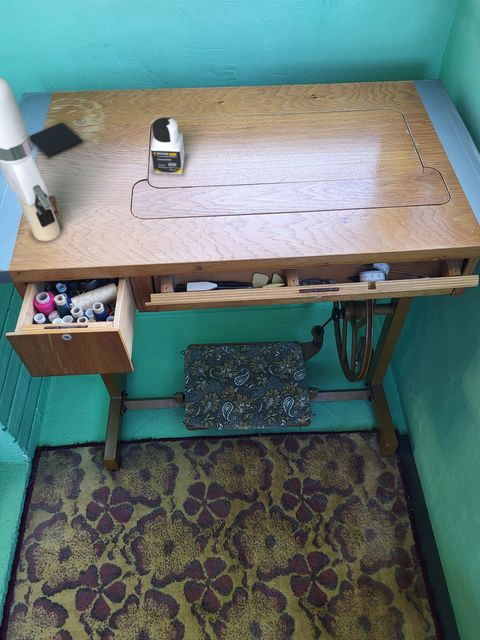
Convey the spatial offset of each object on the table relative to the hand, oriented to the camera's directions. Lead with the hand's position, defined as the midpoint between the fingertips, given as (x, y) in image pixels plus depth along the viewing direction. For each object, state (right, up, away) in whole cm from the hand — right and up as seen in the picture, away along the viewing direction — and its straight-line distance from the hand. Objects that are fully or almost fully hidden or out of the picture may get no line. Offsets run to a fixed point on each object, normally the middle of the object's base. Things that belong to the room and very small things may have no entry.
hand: (40, 215), depth 116 cm
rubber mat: (-5, +25, +22) cm, 34 cm away
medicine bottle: (+26, +18, +19) cm, 36 cm away
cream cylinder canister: (0, -3, +4) cm, 5 cm away
